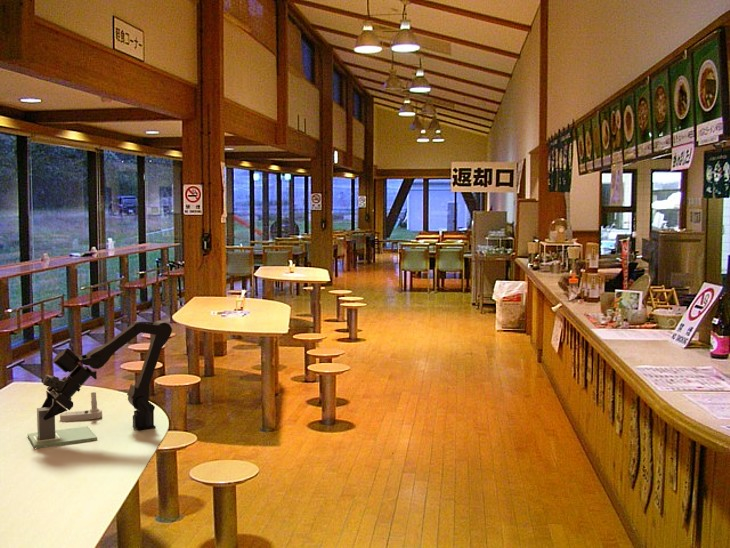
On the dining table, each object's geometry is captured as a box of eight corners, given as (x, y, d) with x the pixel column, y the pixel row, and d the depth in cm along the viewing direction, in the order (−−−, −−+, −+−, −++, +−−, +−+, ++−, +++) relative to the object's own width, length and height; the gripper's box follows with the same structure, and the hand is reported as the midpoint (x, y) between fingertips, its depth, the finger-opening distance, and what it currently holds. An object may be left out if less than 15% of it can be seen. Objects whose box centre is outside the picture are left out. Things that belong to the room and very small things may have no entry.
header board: (87, 428, 285) (87, 422, 285) (97, 440, 271) (97, 432, 271) (27, 436, 275) (27, 429, 275) (34, 448, 261) (34, 441, 261)
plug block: (53, 434, 274) (52, 406, 273) (55, 438, 270) (54, 409, 269) (37, 437, 271) (36, 408, 270) (39, 440, 267) (38, 411, 266)
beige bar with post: (59, 394, 299) (101, 390, 303) (61, 419, 300) (102, 415, 304) (58, 397, 294) (100, 393, 298) (59, 423, 295) (101, 419, 299)
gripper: (52, 361, 278) (19, 396, 274) (62, 371, 262) (27, 407, 258) (76, 381, 283) (44, 415, 278) (87, 391, 267) (53, 428, 262)
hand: (41, 416), depth 269 cm, fingers open, 9 cm apart
